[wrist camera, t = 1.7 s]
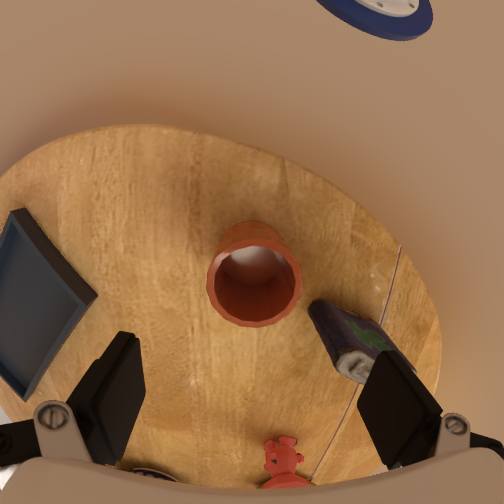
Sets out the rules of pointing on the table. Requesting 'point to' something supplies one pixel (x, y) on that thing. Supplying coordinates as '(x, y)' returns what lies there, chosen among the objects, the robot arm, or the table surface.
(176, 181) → the table surface
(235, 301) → the flower pot
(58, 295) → the tray
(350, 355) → the flask
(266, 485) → the cat figurine
